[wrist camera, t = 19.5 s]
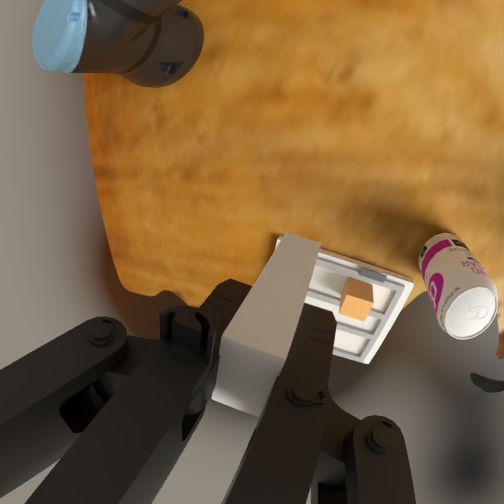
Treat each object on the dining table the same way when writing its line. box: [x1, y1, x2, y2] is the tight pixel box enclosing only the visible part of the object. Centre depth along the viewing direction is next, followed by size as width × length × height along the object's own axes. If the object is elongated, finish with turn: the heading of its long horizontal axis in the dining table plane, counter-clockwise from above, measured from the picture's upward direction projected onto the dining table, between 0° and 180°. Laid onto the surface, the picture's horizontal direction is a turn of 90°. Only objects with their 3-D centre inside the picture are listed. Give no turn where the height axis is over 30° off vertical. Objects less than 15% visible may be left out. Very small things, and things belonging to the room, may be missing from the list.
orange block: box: [339, 277, 374, 321], centre depth 40 cm, size 4×3×5 cm
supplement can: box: [418, 233, 498, 339], centre depth 30 cm, size 8×8×15 cm
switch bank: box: [275, 236, 414, 364], centre depth 45 cm, size 22×18×2 cm
